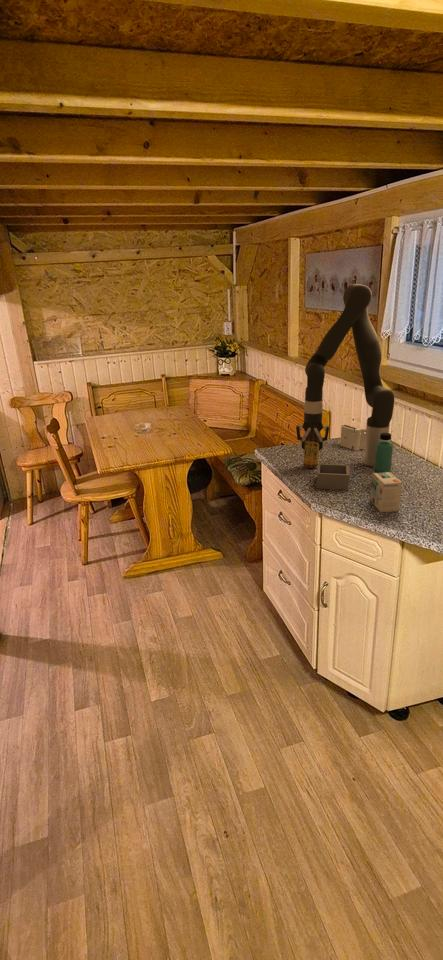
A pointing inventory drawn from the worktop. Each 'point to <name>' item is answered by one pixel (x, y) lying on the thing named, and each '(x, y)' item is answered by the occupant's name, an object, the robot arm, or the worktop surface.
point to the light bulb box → (385, 491)
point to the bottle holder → (333, 476)
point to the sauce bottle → (311, 448)
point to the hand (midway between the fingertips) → (311, 449)
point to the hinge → (352, 437)
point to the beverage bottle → (383, 454)
